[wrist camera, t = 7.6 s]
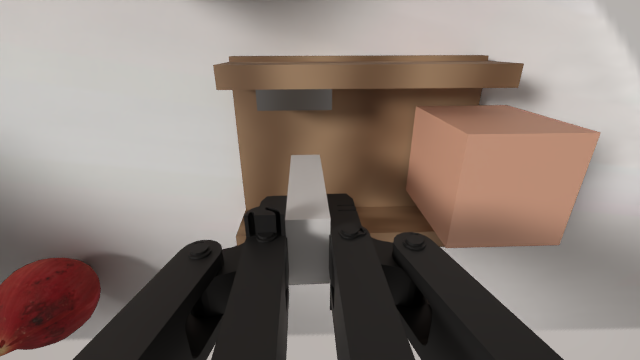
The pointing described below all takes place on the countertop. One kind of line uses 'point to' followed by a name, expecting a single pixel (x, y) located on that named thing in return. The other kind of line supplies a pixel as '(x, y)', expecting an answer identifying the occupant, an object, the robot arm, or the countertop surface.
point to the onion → (46, 303)
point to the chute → (348, 123)
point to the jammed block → (496, 174)
